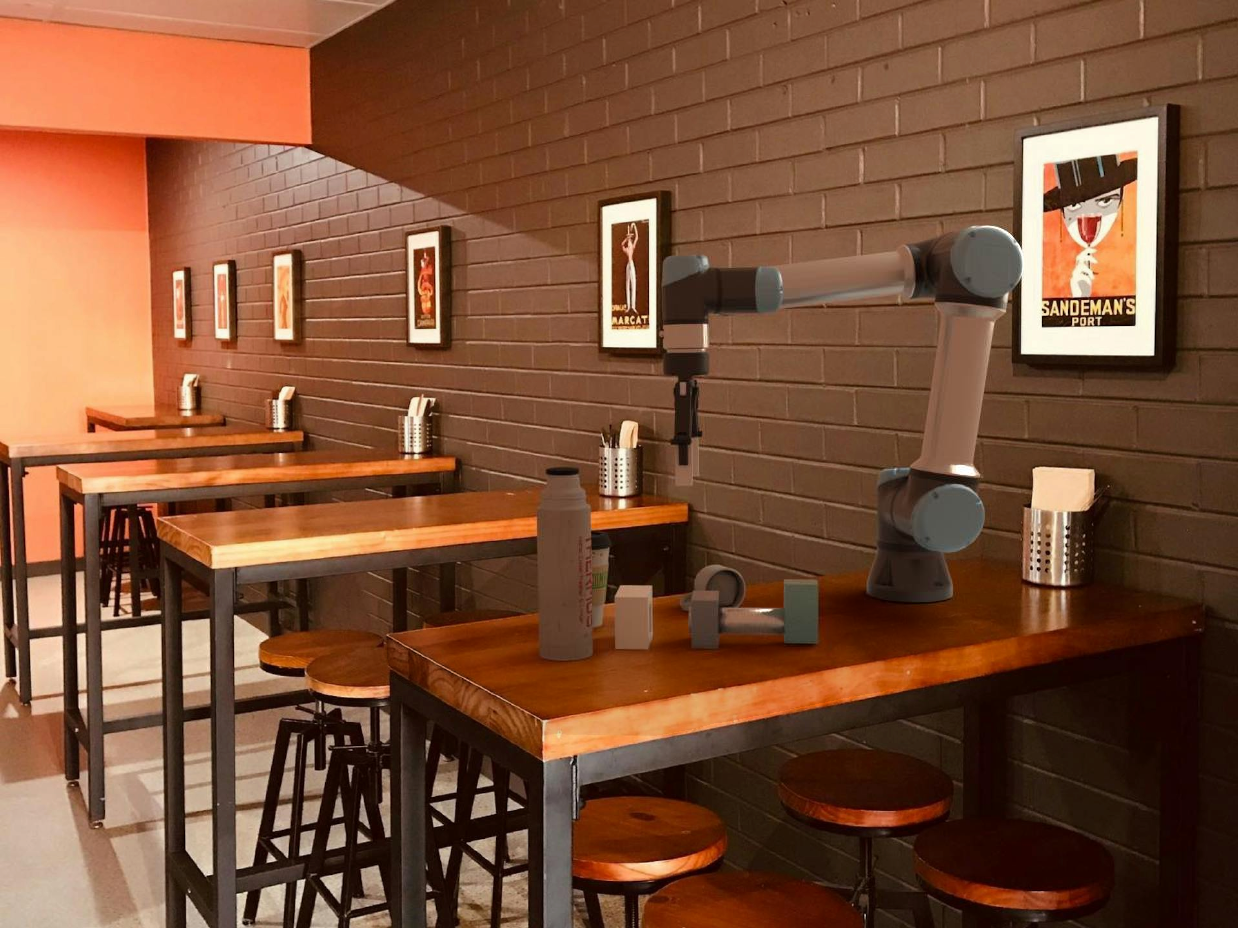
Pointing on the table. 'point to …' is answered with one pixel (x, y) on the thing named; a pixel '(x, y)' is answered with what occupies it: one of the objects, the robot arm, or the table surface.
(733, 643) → the table surface
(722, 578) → the ceramic mug
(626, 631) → the socket block
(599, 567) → the coffee cup
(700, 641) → the square hollow collar
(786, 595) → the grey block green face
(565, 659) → the thermos bottle
